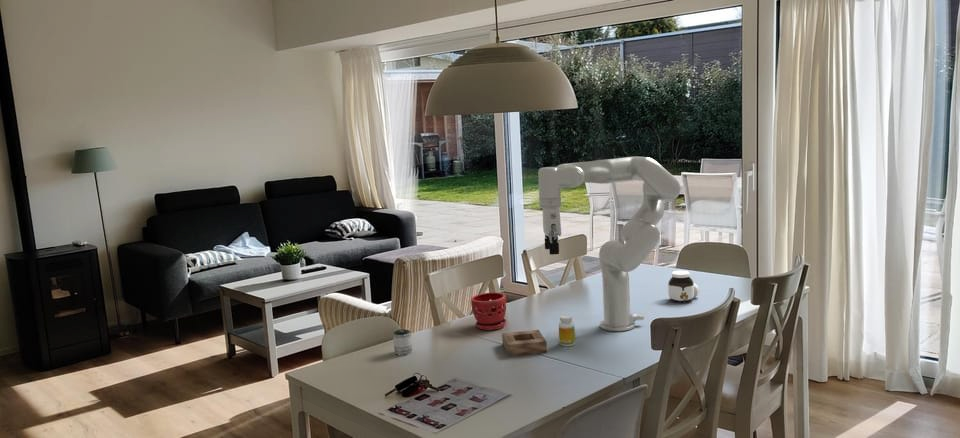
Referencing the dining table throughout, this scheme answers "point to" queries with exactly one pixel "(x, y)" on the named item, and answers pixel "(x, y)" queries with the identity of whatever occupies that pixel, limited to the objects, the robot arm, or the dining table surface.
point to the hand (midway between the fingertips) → (551, 251)
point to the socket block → (524, 343)
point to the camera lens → (402, 342)
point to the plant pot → (489, 310)
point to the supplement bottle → (566, 331)
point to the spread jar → (682, 287)
